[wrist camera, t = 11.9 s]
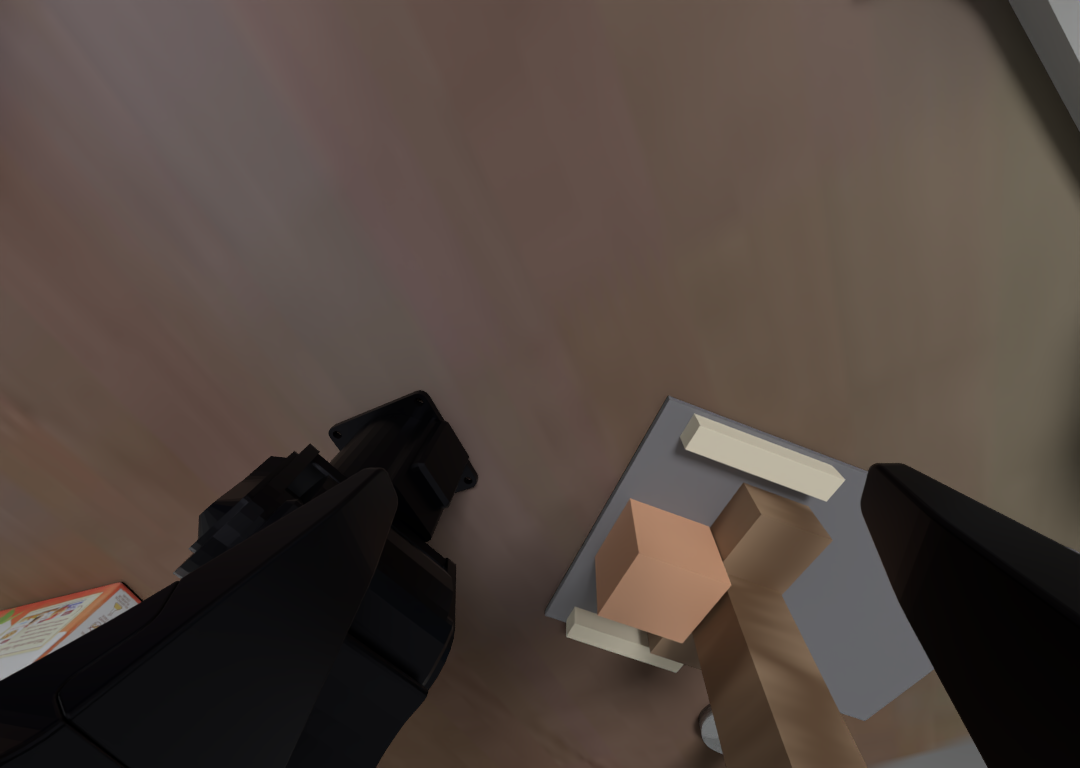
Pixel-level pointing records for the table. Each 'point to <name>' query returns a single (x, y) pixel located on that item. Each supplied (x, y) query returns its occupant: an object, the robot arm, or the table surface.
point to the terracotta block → (658, 572)
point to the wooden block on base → (764, 643)
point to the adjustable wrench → (1055, 44)
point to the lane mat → (816, 595)
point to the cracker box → (56, 623)
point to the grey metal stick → (709, 729)
